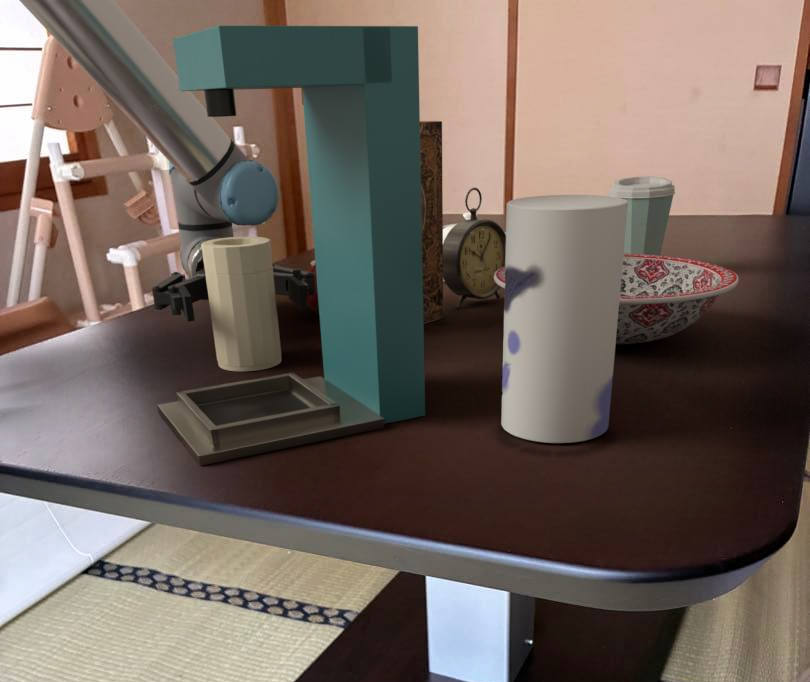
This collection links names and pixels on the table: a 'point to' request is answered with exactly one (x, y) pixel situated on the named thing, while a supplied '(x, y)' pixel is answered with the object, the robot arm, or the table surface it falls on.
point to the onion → (313, 299)
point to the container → (561, 315)
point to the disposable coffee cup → (645, 212)
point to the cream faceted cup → (242, 302)
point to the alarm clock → (473, 256)
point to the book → (432, 219)
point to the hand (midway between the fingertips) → (247, 303)
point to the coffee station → (328, 233)
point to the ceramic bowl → (662, 294)
